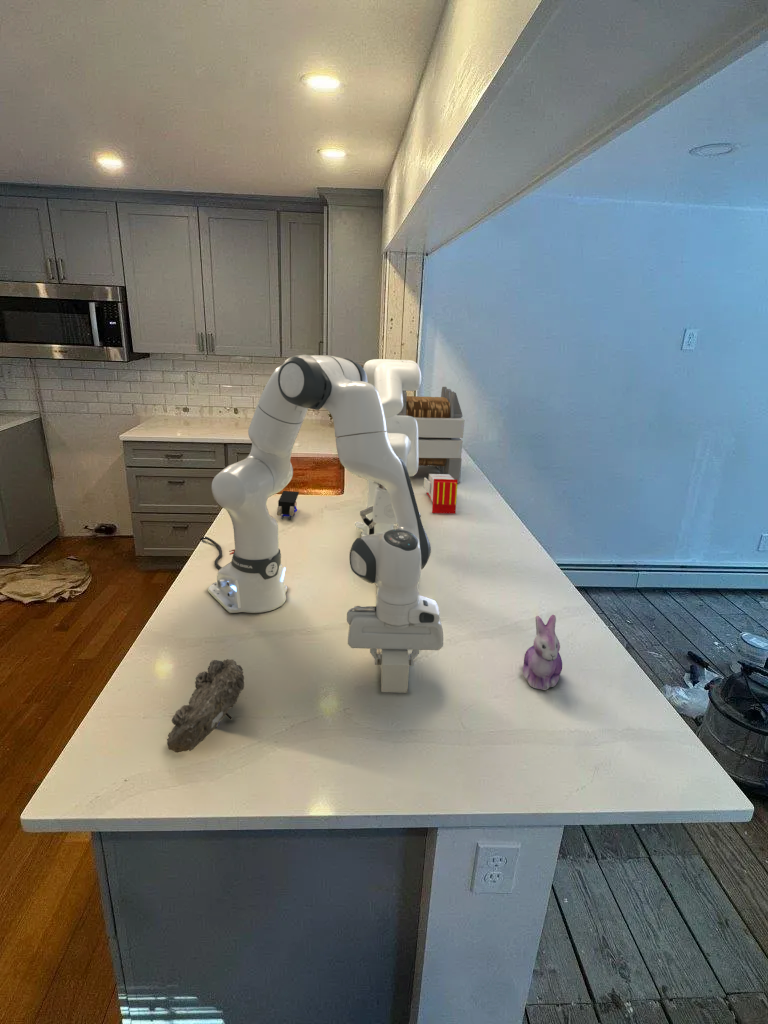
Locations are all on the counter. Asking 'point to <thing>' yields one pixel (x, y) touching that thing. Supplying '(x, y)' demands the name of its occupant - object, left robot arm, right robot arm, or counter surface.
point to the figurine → (543, 656)
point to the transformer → (438, 430)
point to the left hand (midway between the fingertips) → (394, 663)
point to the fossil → (206, 705)
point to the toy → (442, 492)
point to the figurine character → (287, 504)
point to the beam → (394, 670)
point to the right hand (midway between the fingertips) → (389, 540)
